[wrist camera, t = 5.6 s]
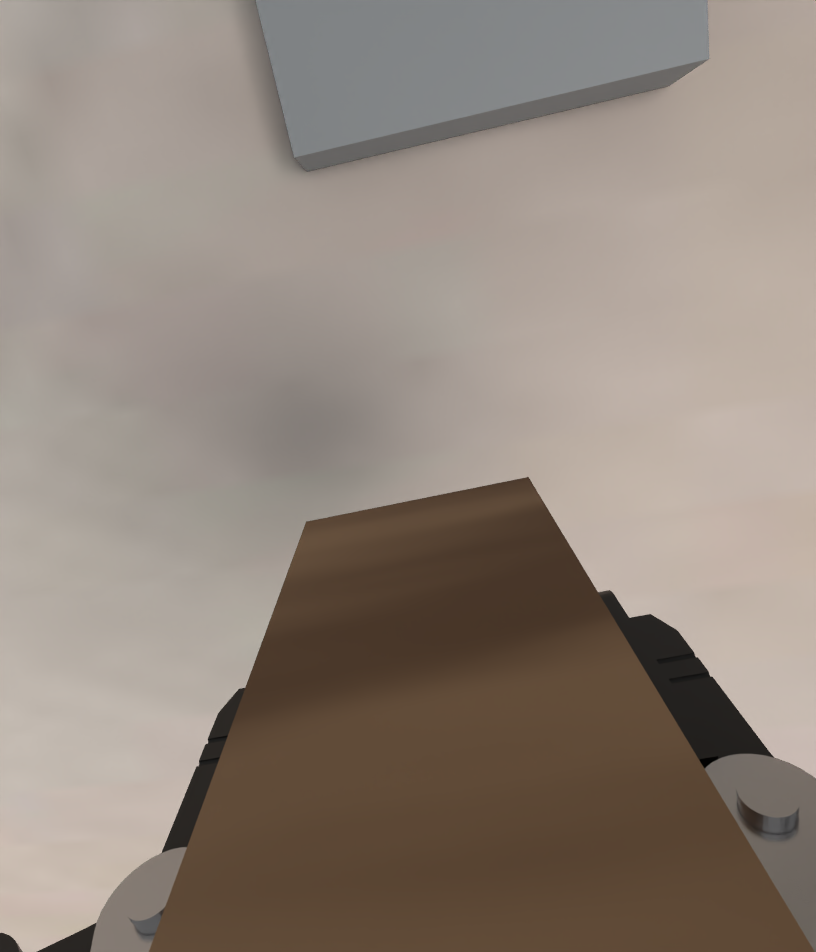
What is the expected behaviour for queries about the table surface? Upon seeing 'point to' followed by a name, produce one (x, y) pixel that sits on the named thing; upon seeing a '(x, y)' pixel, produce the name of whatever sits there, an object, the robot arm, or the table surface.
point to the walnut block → (460, 762)
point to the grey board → (462, 64)
